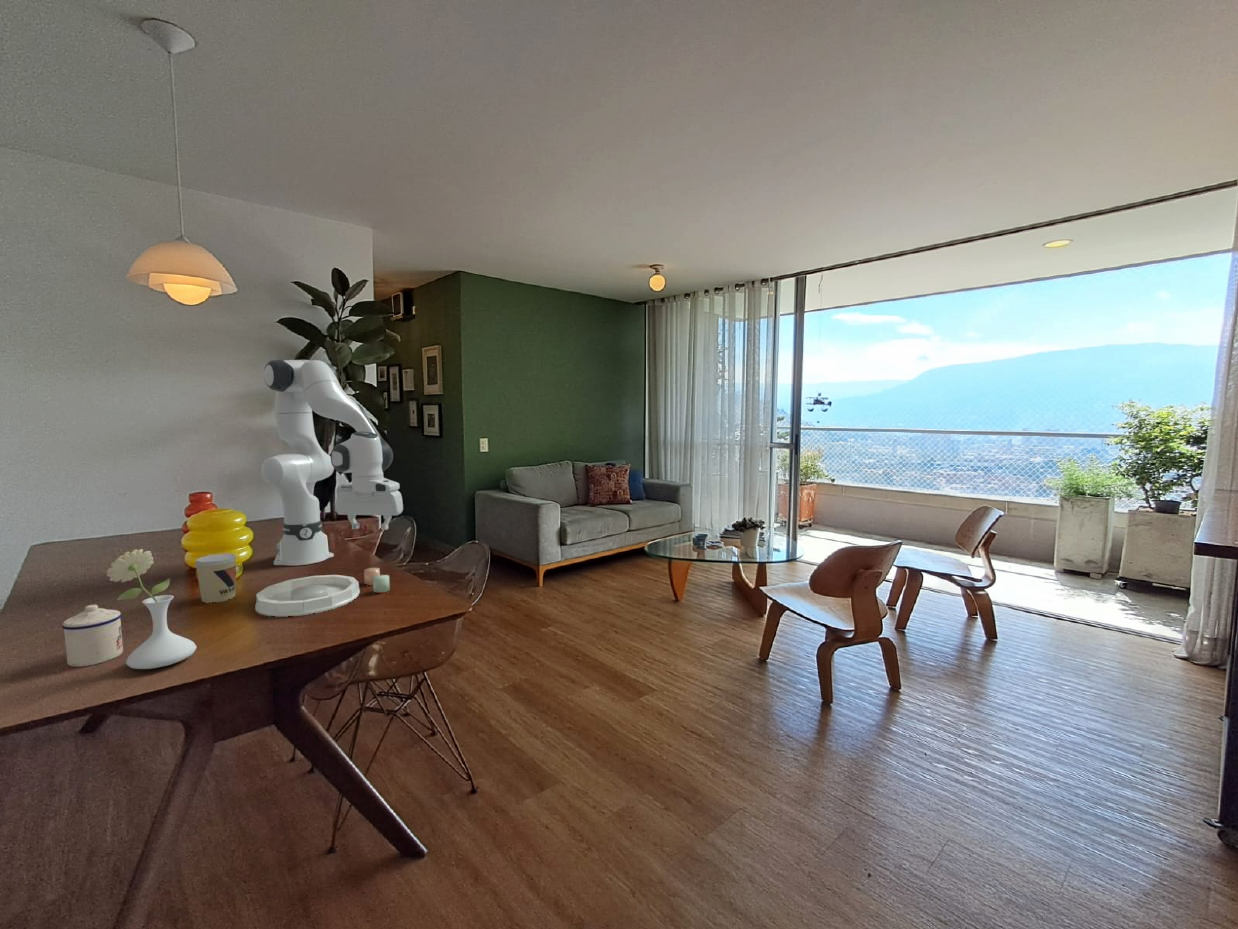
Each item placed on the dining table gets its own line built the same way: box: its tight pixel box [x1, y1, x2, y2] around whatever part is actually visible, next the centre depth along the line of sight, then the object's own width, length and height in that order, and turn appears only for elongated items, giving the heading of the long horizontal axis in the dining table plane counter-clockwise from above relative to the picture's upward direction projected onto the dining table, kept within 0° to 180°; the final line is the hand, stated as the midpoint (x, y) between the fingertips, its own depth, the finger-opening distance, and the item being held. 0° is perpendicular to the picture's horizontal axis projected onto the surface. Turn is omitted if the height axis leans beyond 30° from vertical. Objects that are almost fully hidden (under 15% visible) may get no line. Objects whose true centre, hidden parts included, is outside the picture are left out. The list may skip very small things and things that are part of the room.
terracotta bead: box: [363, 567, 381, 586], centre depth 166 cm, size 4×4×4 cm
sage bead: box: [372, 574, 391, 593], centre depth 159 cm, size 4×4×4 cm
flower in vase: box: [106, 548, 197, 670], centre depth 112 cm, size 13×11×25 cm
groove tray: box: [254, 574, 361, 618], centre depth 151 cm, size 26×26×4 cm
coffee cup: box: [194, 553, 237, 604], centre depth 152 cm, size 9×9×12 cm
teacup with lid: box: [61, 604, 124, 668], centre depth 115 cm, size 12×9×12 cm
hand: (370, 529), depth 165 cm, fingers open, 8 cm apart
